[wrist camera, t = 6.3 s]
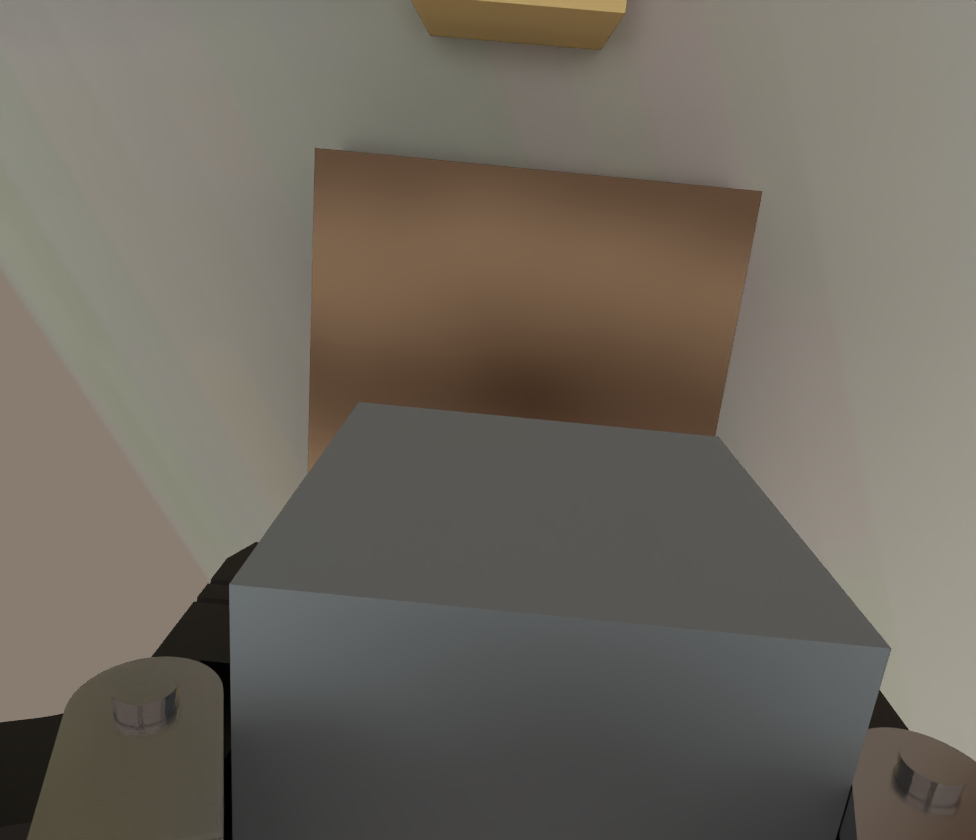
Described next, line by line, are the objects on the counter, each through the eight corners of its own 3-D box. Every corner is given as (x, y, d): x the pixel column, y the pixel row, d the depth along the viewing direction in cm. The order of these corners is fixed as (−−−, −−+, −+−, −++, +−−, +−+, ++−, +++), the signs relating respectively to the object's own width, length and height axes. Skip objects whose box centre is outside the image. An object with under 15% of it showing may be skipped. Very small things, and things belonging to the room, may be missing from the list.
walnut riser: (339, 152, 23) (315, 148, 20) (731, 190, 23) (762, 191, 20) (328, 511, 27) (305, 551, 24) (667, 545, 27) (685, 588, 24)
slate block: (358, 401, 10) (229, 583, 6) (718, 436, 10) (891, 648, 6) (346, 703, 12) (235, 1049, 7) (660, 734, 12) (758, 1100, 7)
